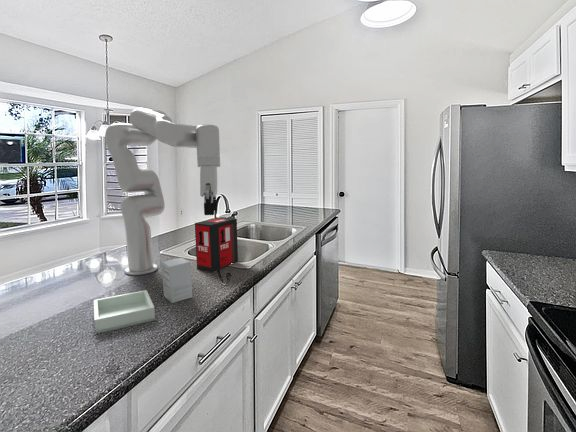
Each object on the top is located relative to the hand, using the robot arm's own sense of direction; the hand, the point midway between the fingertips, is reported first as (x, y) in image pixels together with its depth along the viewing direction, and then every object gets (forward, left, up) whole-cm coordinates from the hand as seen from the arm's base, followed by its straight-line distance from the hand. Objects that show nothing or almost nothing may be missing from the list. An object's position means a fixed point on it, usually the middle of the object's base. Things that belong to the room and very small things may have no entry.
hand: (210, 212), depth 115 cm
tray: (+7, -30, -28) cm, 41 cm away
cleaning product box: (-25, +10, -28) cm, 39 cm away
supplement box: (+1, -13, -28) cm, 31 cm away
